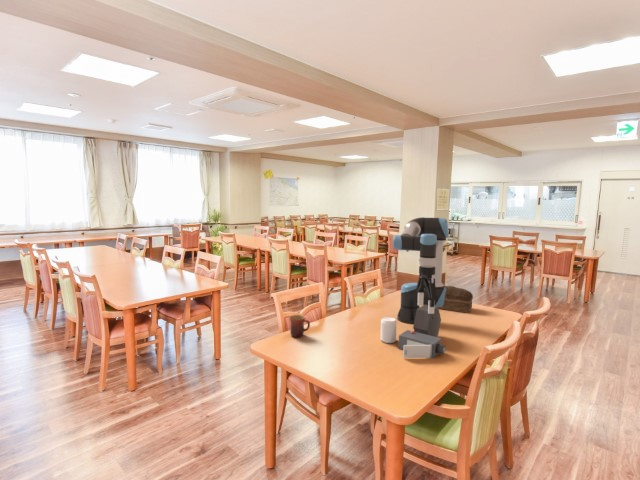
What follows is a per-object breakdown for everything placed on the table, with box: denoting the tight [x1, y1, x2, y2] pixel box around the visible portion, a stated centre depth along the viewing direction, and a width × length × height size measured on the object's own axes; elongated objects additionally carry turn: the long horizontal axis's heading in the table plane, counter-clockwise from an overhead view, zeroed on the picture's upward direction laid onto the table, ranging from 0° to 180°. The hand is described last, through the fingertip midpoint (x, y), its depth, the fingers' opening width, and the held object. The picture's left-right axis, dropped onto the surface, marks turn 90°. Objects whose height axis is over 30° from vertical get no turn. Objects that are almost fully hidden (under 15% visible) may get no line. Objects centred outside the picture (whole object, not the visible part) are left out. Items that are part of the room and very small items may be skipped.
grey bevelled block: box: [412, 305, 442, 338], centre depth 194 cm, size 17×8×21 cm
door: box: [402, 344, 433, 359], centre depth 169 cm, size 14×2×7 cm, turn 92°
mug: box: [288, 314, 311, 338], centre depth 197 cm, size 12×9×10 cm
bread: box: [438, 285, 474, 314], centre depth 253 cm, size 15×32×16 cm, turn 60°
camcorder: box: [397, 329, 446, 359], centre depth 178 cm, size 21×10×8 cm, turn 52°
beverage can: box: [380, 316, 397, 344], centre depth 191 cm, size 8×8×12 cm
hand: (425, 309), depth 174 cm, fingers open, 13 cm apart
